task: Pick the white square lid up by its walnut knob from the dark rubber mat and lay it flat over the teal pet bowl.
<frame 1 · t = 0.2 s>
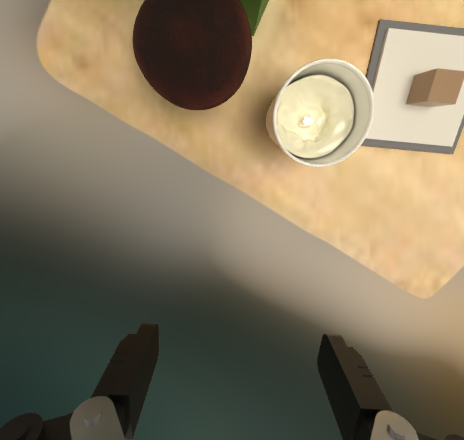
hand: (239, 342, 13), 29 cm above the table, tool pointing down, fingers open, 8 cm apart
decorative mushroom: (204, 70, 35), on the table
rubber mat: (417, 92, 35), on the table
candle holder: (294, 120, 37), on the table
white square lid: (419, 91, 35), resting on rubber mat
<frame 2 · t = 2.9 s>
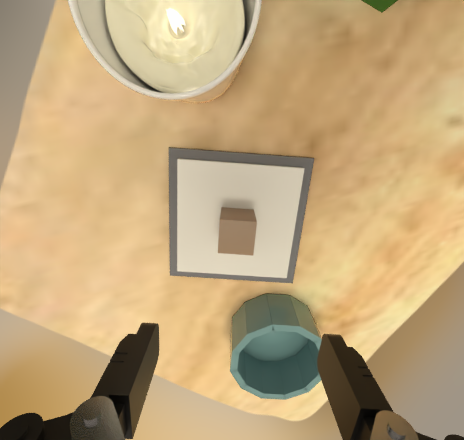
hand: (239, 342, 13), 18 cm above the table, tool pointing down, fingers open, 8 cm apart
rubber mat: (236, 220, 30), on the table
teal pet bowl: (272, 329, 35), on the table
candle holder: (196, 55, 24), on the table
white square lid: (236, 221, 29), resting on rubber mat
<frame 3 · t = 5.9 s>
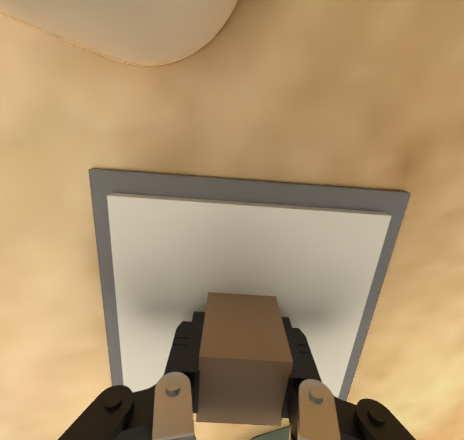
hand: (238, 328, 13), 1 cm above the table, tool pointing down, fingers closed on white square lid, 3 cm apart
rubber mat: (238, 309, 15), on the table
white square lid: (239, 314, 15), resting on rubber mat, touching gripper
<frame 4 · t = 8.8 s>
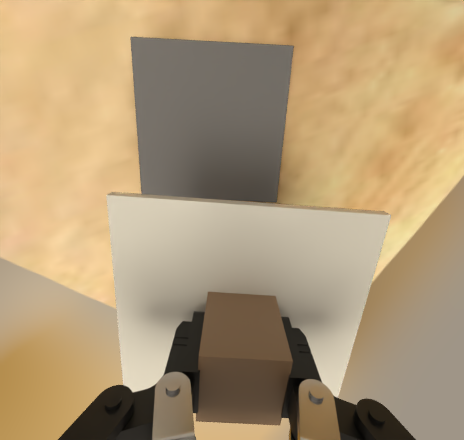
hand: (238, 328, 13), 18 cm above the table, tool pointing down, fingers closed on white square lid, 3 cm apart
rubber mat: (210, 127, 27), on the table
white square lid: (238, 313, 15), point 16 cm above the table, touching gripper
when the fingers open (7 cm above the table, at t = 11.9 s): white square lid stays where it is, resting on teal pet bowl.
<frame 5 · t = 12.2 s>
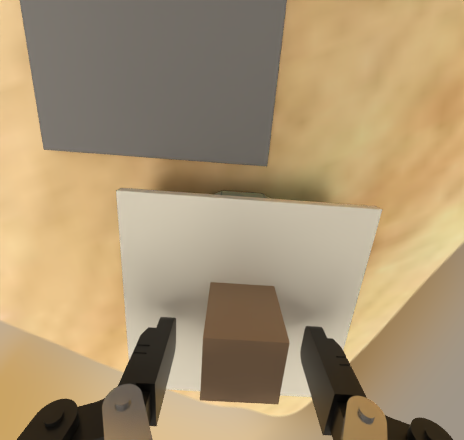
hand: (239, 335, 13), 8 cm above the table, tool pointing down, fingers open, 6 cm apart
rubber mat: (155, 28, 15), on the table
white square lid: (239, 303, 15), point 5 cm above the table, touching teal pet bowl
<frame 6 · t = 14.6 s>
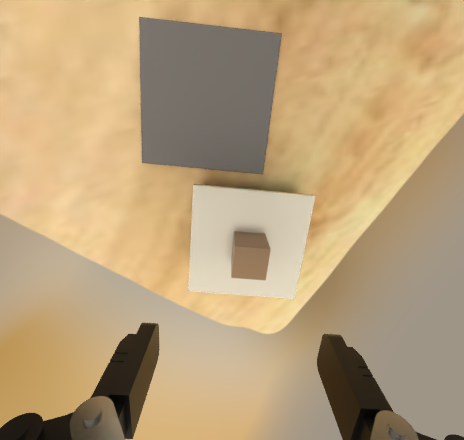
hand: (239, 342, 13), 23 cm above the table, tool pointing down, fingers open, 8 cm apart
rubber mat: (207, 103, 30), on the table
white square lid: (247, 244, 30), point 5 cm above the table, touching teal pet bowl
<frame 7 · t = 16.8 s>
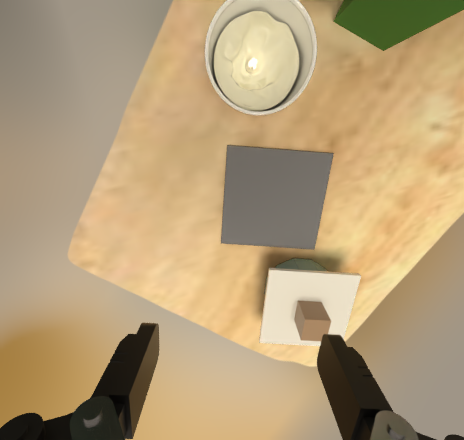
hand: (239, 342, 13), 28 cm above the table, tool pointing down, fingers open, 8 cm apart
rubber mat: (273, 200, 39), on the table
teal pet bowl: (297, 287, 44), on the table
candle holder: (250, 79, 34), on the table
white square lid: (306, 308, 39), point 5 cm above the table, touching teal pet bowl
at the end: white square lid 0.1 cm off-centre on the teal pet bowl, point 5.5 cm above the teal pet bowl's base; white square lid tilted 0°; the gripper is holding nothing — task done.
